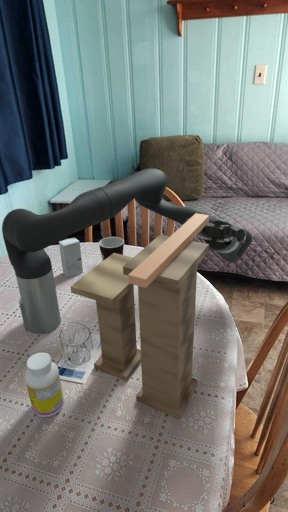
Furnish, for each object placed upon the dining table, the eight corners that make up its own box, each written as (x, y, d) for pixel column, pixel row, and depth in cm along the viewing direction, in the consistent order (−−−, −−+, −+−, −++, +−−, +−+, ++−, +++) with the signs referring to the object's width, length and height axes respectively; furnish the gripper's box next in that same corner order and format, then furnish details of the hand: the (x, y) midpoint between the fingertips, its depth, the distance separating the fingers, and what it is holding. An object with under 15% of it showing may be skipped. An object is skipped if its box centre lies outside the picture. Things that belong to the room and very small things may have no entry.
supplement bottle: (33, 396, 78) (22, 351, 72) (64, 390, 80) (55, 346, 74) (32, 422, 73) (20, 376, 67) (65, 415, 74) (56, 369, 68)
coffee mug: (124, 273, 124) (123, 247, 119) (99, 273, 124) (97, 248, 120) (126, 257, 134) (125, 233, 130) (103, 257, 135) (101, 233, 130)
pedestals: (120, 336, 95) (111, 216, 79) (206, 366, 85) (215, 235, 69) (78, 383, 81) (57, 250, 65) (175, 426, 71) (178, 280, 55)
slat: (195, 219, 76) (195, 213, 75) (208, 222, 75) (209, 215, 74) (128, 283, 55) (128, 274, 54) (145, 287, 53) (145, 279, 53)
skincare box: (67, 277, 122) (62, 246, 117) (62, 272, 126) (57, 241, 120) (84, 272, 125) (80, 241, 120) (78, 267, 129) (74, 236, 123)
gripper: (247, 257, 88) (235, 250, 73) (192, 246, 94) (171, 238, 79) (254, 227, 88) (242, 214, 73) (199, 218, 94) (178, 204, 79)
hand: (205, 226), depth 76 cm, fingers open, 8 cm apart
